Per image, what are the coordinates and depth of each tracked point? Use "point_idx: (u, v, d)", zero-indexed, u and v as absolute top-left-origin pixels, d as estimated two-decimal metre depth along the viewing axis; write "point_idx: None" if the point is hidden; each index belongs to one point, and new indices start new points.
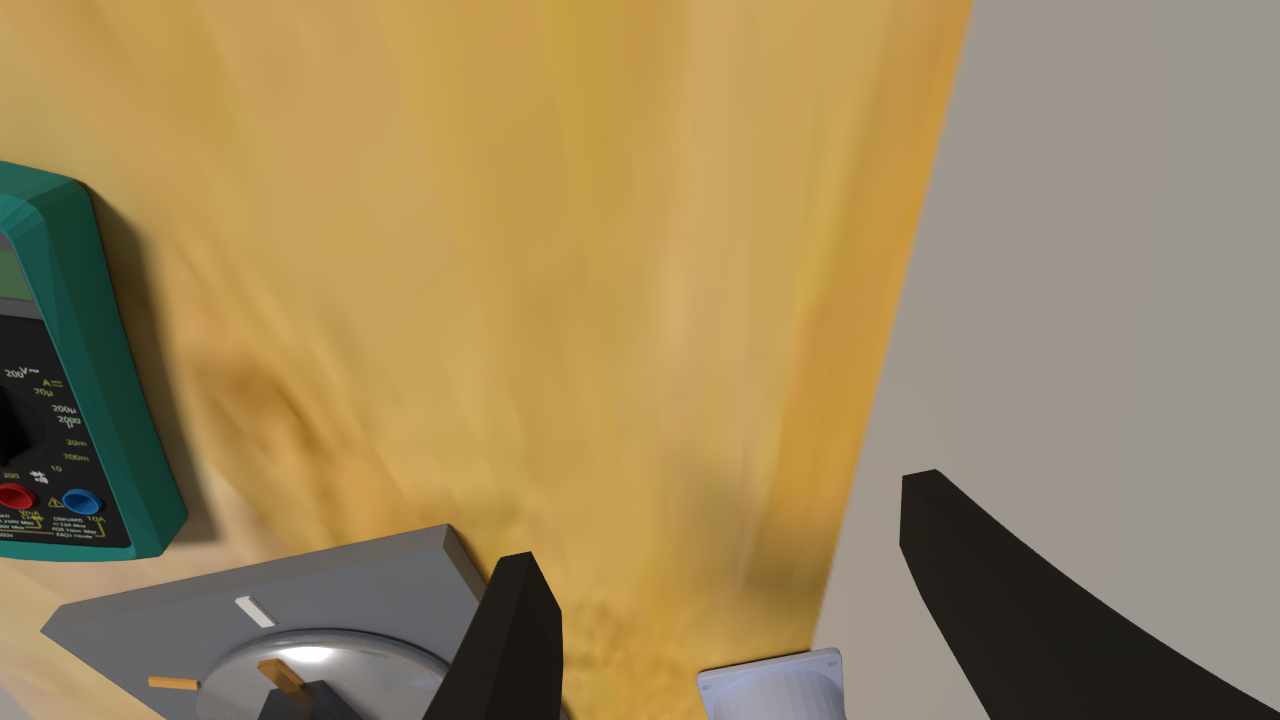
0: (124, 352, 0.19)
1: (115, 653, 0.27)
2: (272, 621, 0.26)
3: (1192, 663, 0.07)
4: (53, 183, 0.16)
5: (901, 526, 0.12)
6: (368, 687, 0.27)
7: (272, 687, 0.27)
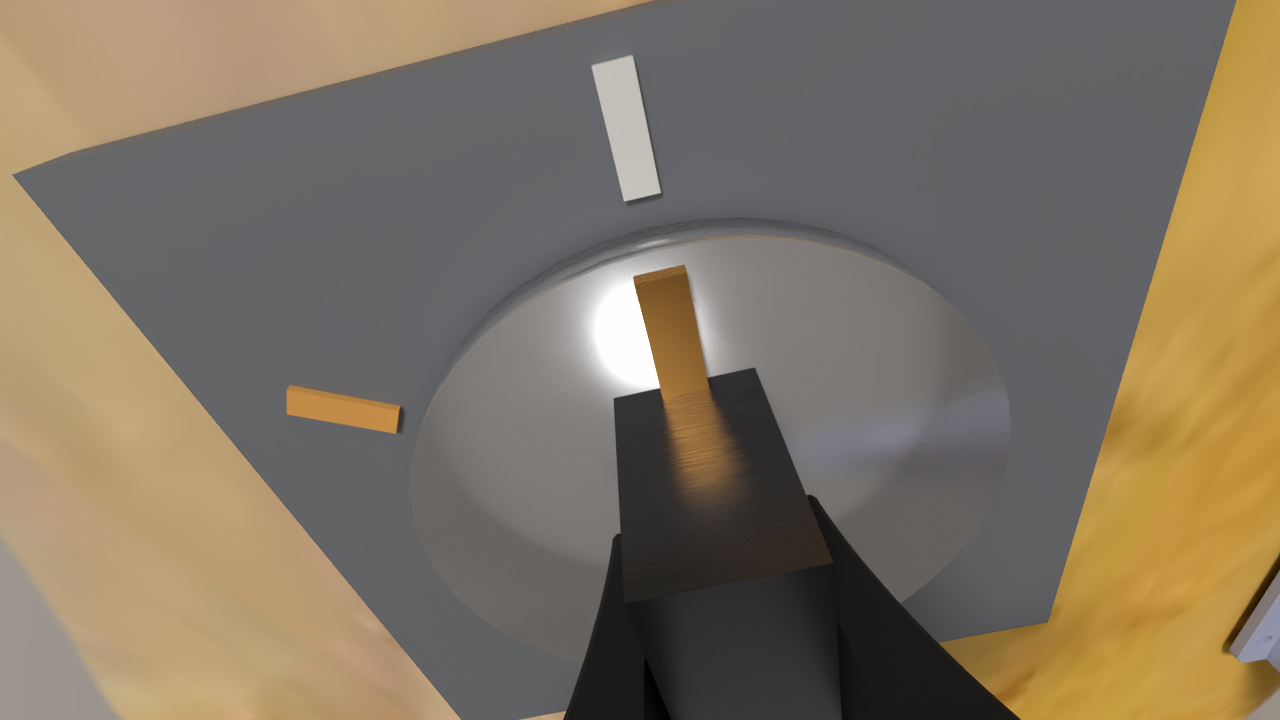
0: None
1: (214, 291, 0.10)
2: (657, 175, 0.09)
3: (991, 699, 0.07)
4: None
5: None
6: (846, 407, 0.11)
7: (622, 388, 0.10)
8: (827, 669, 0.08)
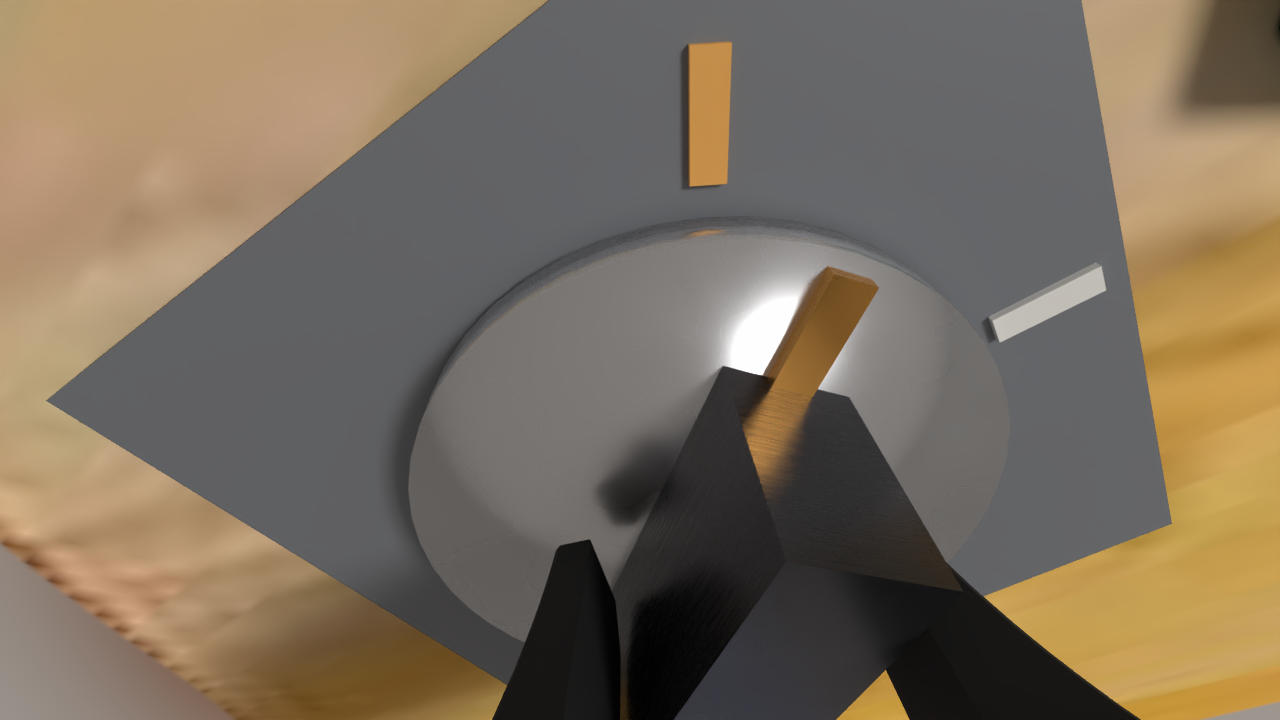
0: None
1: None
2: (1012, 335, 0.12)
3: (1083, 682, 0.07)
4: None
5: None
6: None
7: (736, 360, 0.10)
8: (857, 687, 0.09)
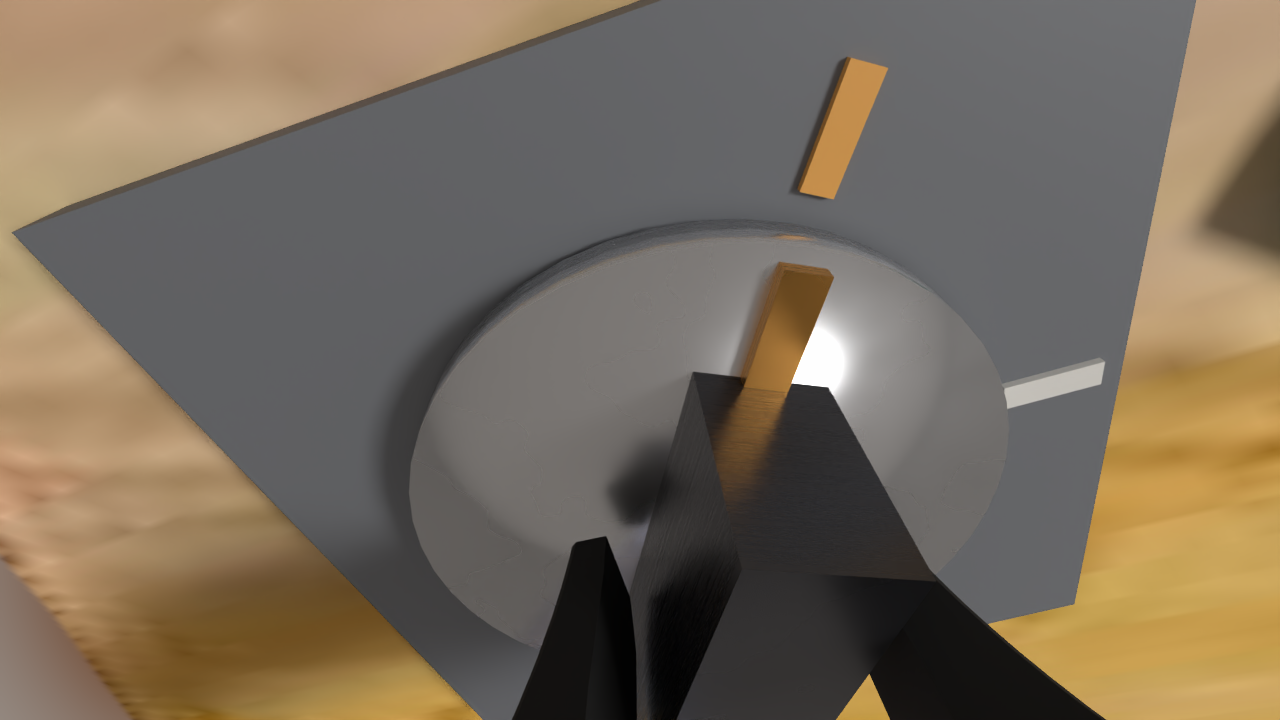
0: None
1: (1029, 7, 0.09)
2: (1015, 405, 0.13)
3: (1057, 687, 0.07)
4: None
5: None
6: (877, 450, 0.12)
7: (706, 364, 0.10)
8: (851, 683, 0.09)
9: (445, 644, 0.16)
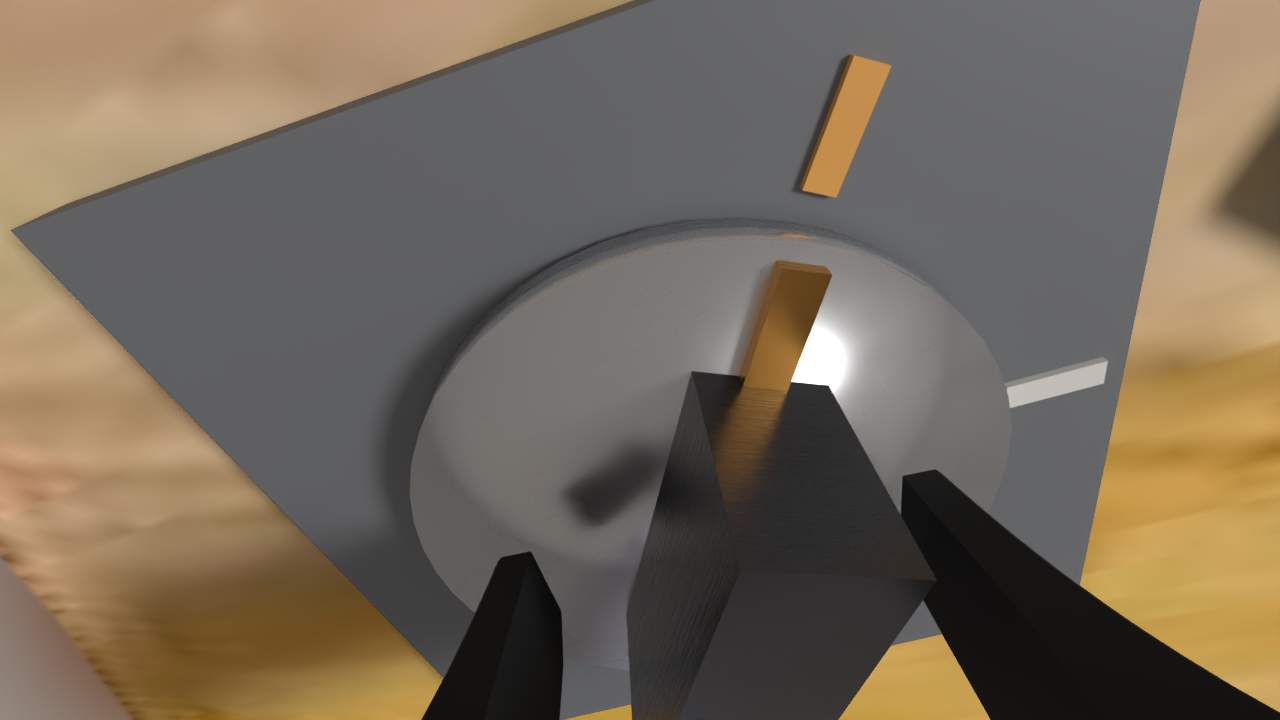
0: None
1: (1033, 4, 0.08)
2: (1017, 404, 0.13)
3: (1192, 663, 0.07)
4: None
5: None
6: (878, 448, 0.12)
7: (704, 364, 0.10)
8: (853, 683, 0.09)
9: (445, 643, 0.16)
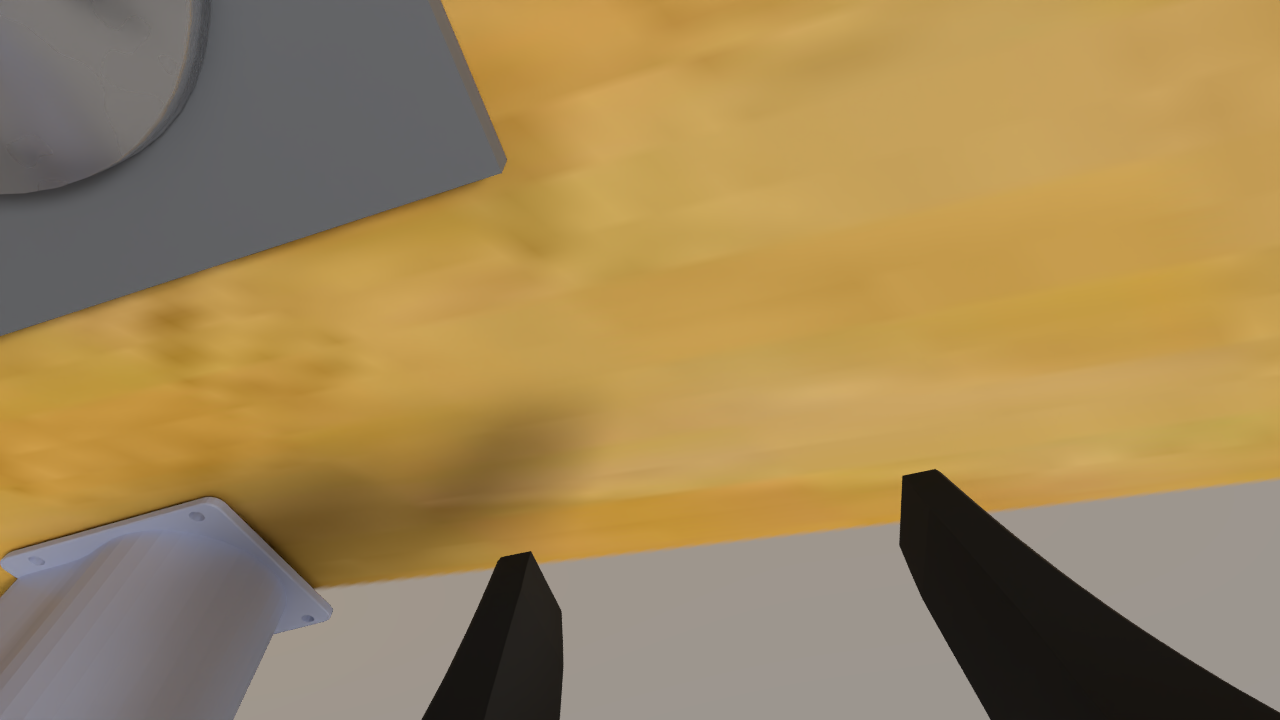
0: None
1: None
2: None
3: (1192, 663, 0.07)
4: None
5: (901, 526, 0.12)
6: None
7: None
8: None
9: None
